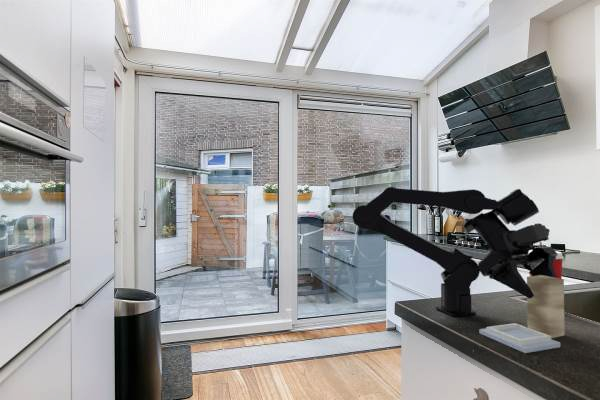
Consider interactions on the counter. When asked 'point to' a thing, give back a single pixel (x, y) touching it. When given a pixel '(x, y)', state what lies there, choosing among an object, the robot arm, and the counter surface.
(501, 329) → the board
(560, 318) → the birch pillar
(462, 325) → the counter surface
